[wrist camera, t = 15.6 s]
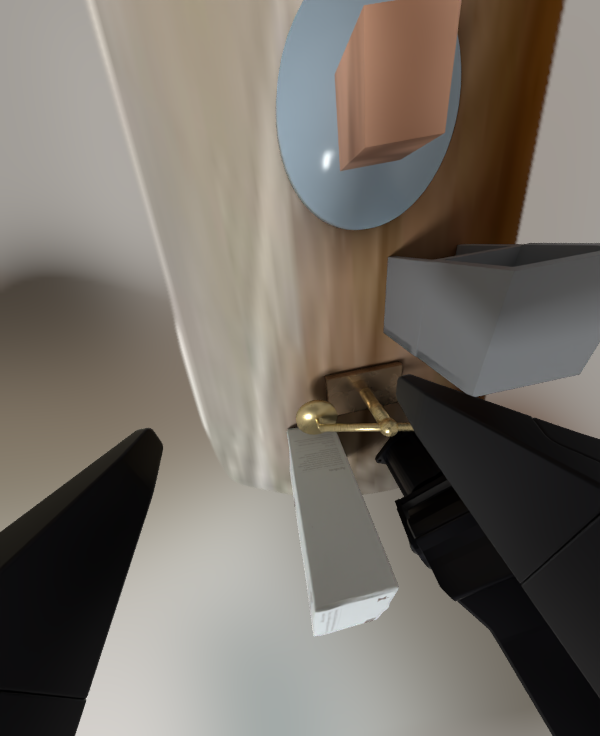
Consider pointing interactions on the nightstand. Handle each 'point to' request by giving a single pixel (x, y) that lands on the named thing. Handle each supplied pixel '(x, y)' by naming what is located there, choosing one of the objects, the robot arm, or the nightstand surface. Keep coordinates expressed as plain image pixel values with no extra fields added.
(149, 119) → the nightstand surface
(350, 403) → the balance
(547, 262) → the covering hood
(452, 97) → the dish
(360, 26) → the block
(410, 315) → the empty hood
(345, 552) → the skincare box
